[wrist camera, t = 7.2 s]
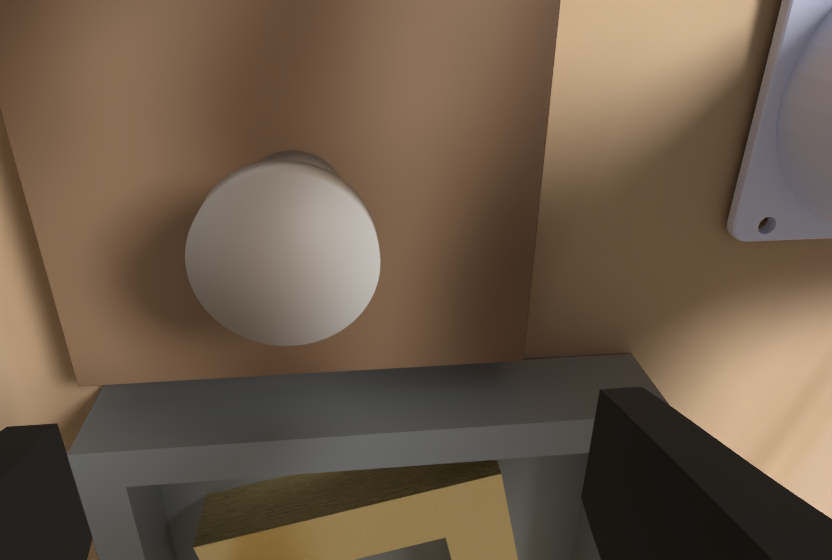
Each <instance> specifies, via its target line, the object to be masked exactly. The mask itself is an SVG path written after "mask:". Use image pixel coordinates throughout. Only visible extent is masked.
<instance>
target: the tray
mask: <svg viewBox="0 0 832 560" xmlns="http://www.w3.org/2000/svg"><path fill="white" fill-rule="evenodd" d="M628 387H643V388H645V389H646V390H648V391H649V392H651V393H652V394H654V395H655V396H657V397H658V398H660V399H661V400H663V401H664V402H665V403H667V401H666V400H665V399H664V397H663V396H662V395H661V393H660V392H659V390H658V389H657V388H656V386H655V385H654V384H653V382H652V381H651V380H650V378H649V377H648V376H647V374H646V373H645V372H644V370H643V369H642V368H641V366H640V365H639V364H638V362H637V361H636V359H635V358H634V357H633V355H632V354H631V353H628V354H610V355H593V356H576V357H558V358H541V359H523V361H511V362H493V363H476V364H459V365H441V366H424V367H407V368H389V369H372V370H355V371H337V372H320V373H303V374H285V375H268V376H250V377H233V378H216V379H198V380H181V381H164V382H146V383H129V384H112V385H103V387H102V389H101V391H100V393H99V395H98V397H97V398H96V400H95V402H94V404H93V406H92V408H91V410H90V412H89V413H88V415H87V417H86V419H85V421H84V423H83V425H82V427H81V429H80V430H79V432H78V434H77V436H76V438H75V440H74V442H73V444H72V445H71V447H70V449H69V451H68V453H67V457H68V460H69V463H70V466H71V470H72V473H73V476H74V479H75V482H76V486H77V489H78V492H79V495H80V499H81V502H82V505H83V508H84V512H85V515H86V518H87V521H88V524H89V528H90V531H91V534H92V537H93V538H92V539H93V542H94V546H95V549H96V552H97V555H98V559H99V560H200V559H199V558H198V556H197V554H196V552H195V550H194V548H193V546H194V542H195V538H196V534H197V529H198V525H199V521H200V517H201V512H202V508H203V504H204V500H205V495H208V494H212V493H216V492H220V491H224V490H229V489H233V488H237V487H241V486H245V485H249V484H254V483H258V482H262V481H266V480H270V479H275V478H279V477H283V476H287V475H297V474H310V473H324V472H337V471H351V470H364V469H378V468H391V467H405V466H418V465H432V464H445V463H459V462H472V461H486V460H497V462H498V465H499V468H500V471H501V474H502V480H503V485H504V490H505V495H506V500H507V506H508V511H509V516H510V521H511V526H512V531H513V537H514V542H515V547H516V552H517V557H518V560H601V558H600V555H599V552H598V549H597V547H596V544H595V541H594V538H593V535H592V531H591V528H590V525H589V522H588V519H587V515H586V512H585V509H584V506H583V502H582V499H581V495H582V489H583V484H584V478H585V472H586V466H587V460H588V455H589V449H590V443H591V437H592V431H593V426H594V420H595V414H596V408H597V402H598V397H599V391H600V389H612V388H628ZM667 404H668V403H667ZM668 405H669V404H668ZM355 560H452V559H451V556H450V552H449V548H448V544H447V541H446V538H442V539H438V540H434V541H429V542H425V543H421V544H417V545H413V546H409V547H404V548H400V549H396V550H392V551H388V552H384V553H380V554H375V555H371V556H367V557H363V558H359V559H355Z"/></svg>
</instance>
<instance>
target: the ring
mask: <svg viewBox="0 0 832 560" xmlns="http://www.w3.org/2000/svg"><path fill="white" fill-rule="evenodd" d="M442 538H446V541H447V544H448V548H449V552H450V556H451V559H452V560H518V557H517V552H516V547H515V542H514V537H513V531H512V526H511V521H510V516H509V511H508V506H507V500H506V495H505V490H504V485H503V480H502V474H501V471H500V468H499V465H498V462H497V460H486V461H472V462H459V463H445V464H432V465H418V466H405V467H391V468H378V469H364V470H351V471H337V472H324V473H310V474H297V475H287V476H283V477H279V478H275V479H270V480H266V481H262V482H258V483H254V484H249V485H245V486H241V487H237V488H233V489H229V490H224V491H220V492H216V493H212V494H208V495H205V500H204V504H203V508H202V512H201V517H200V521H199V525H198V529H197V534H196V538H195V542H194V546H193V548H194V550H195V552H196V554H197V556H198V558H199V559H200V560H355V559H359V558H363V557H367V556H371V555H375V554H380V553H384V552H388V551H392V550H396V549H400V548H404V547H409V546H413V545H417V544H421V543H425V542H429V541H434V540H438V539H442Z"/></svg>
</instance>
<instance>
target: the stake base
mask: <svg viewBox="0 0 832 560" xmlns="http://www.w3.org/2000/svg"><path fill="white" fill-rule="evenodd" d="M559 9H560V0H0V110H1V113H2V117H3V120H4V124H5V127H6V131H7V134H8V138H9V142H10V145H11V149H12V152H13V156H14V159H15V163H16V166H17V170H18V174H19V177H20V181H21V184H22V188H23V191H24V195H25V198H26V202H27V206H28V209H29V213H30V216H31V220H32V223H33V227H34V230H35V234H36V238H37V241H38V245H39V248H40V252H41V255H42V259H43V262H44V266H45V270H46V273H47V277H48V280H49V284H50V287H51V291H52V294H53V298H54V302H55V305H56V309H57V312H58V316H59V319H60V323H61V326H62V330H63V334H64V337H65V341H66V344H67V348H68V351H69V355H70V358H71V362H72V366H73V369H74V373H75V376H76V380H77V383H78V386H94V385H112V384H129V383H146V382H164V381H181V380H198V379H216V378H233V377H250V376H268V375H285V374H303V373H320V372H337V371H355V370H372V369H389V368H407V367H424V366H441V365H459V364H476V363H493V362H511V361H523V357H524V347H525V338H526V328H527V318H528V309H529V299H530V289H531V280H532V270H533V260H534V251H535V241H536V231H537V222H538V212H539V202H540V193H541V183H542V173H543V163H544V154H545V144H546V134H547V125H548V115H549V105H550V96H551V86H552V76H553V67H554V57H555V47H556V38H557V28H558V18H559Z"/></svg>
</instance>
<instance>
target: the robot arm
mask: <svg viewBox="0 0 832 560" xmlns="http://www.w3.org/2000/svg"><path fill="white" fill-rule="evenodd" d="M767 217H768V221H767V222H766V224H765V225H764V226H763V227H762V228H758V226H759V224H760V222H761V221H762V220H763V219H764V218H767ZM727 230H728V232H729V234H731V235H732V236H733V237H735V238H736V239H738V240H739V241H744V242H752V241H778V240H803V239H829V238H832V0H782V3H781V7H780V11H779V15H778V19H777V23H776V27H775V31H774V35H773V39H772V43H771V47H770V52H769V56H768V60H767V64H766V68H765V72H764V76H763V80H762V84H761V88H760V92H759V96H758V100H757V104H756V108H755V112H754V116H753V120H752V124H751V128H750V132H749V136H748V140H747V144H746V148H745V152H744V156H743V160H742V165H741V169H740V173H739V177H738V181H737V185H736V189H735V193H734V197H733V201H732V205H731V209H730V213H729V217H728V221H727ZM581 499H582V502H583V506H584V509H585V512H586V515H587V519H588V522H589V525H590V528H591V531H592V535H593V538H594V541H595V544H596V547H597V549H598V552H599V555H600V558H601V560H832V519H831V518H829V517H828V516H826V515H825V514H823V513H822V512H820V511H819V510H817V509H816V508H814V507H813V506H811V505H810V504H808V503H807V502H805V501H804V500H802V499H801V498H799V497H798V496H796V495H795V494H793V493H792V492H790V491H789V490H788V489H786V488H785V487H783V486H782V485H780V484H779V483H777V482H776V481H774V480H773V479H772V478H770V477H769V476H767V475H766V474H764V473H763V472H762V471H760V470H759V469H757V468H756V467H754V466H753V465H752V464H750V463H749V462H747V461H746V460H745V459H743V458H742V457H740V456H739V455H738V454H736V453H735V452H733V451H732V450H731V449H729V448H728V447H726V446H725V445H724V444H722V443H721V442H720V441H718V440H717V439H715V438H714V437H713V436H711V435H710V434H709V433H707V432H706V431H704V430H703V429H702V428H700V427H699V426H697V425H696V424H695V423H693V422H692V421H691V420H689V419H688V418H686V417H685V416H684V415H682V414H681V413H679V412H678V411H677V410H675V409H674V408H672V407H671V406H670V405H668V404H667V403H665V402H664V401H663V400H661V399H660V398H658V397H657V396H655V395H654V394H652V393H651V392H649V391H648V390H646V389H645V388H643V387H628V388H612V389H600V391H599V397H598V402H597V408H596V414H595V420H594V426H593V431H592V437H591V443H590V449H589V455H588V460H587V466H586V472H585V478H584V484H583V489H582V495H581ZM92 538H93V537H92V534H91V531H90V528H89V524H88V521H87V518H86V515H85V512H84V508H83V505H82V502H81V499H80V495H79V492H78V489H77V486H76V482H75V479H74V476H73V473H72V470H71V466H70V463H69V460H68V457H67V453H66V450H65V447H64V444H63V440H62V437H61V434H60V431H59V428H58V424H44V425H28V426H12V427H6V428H5V429H3V430H2V431H0V560H87V557H88V553H89V550H90V546H91V542H92Z"/></svg>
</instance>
